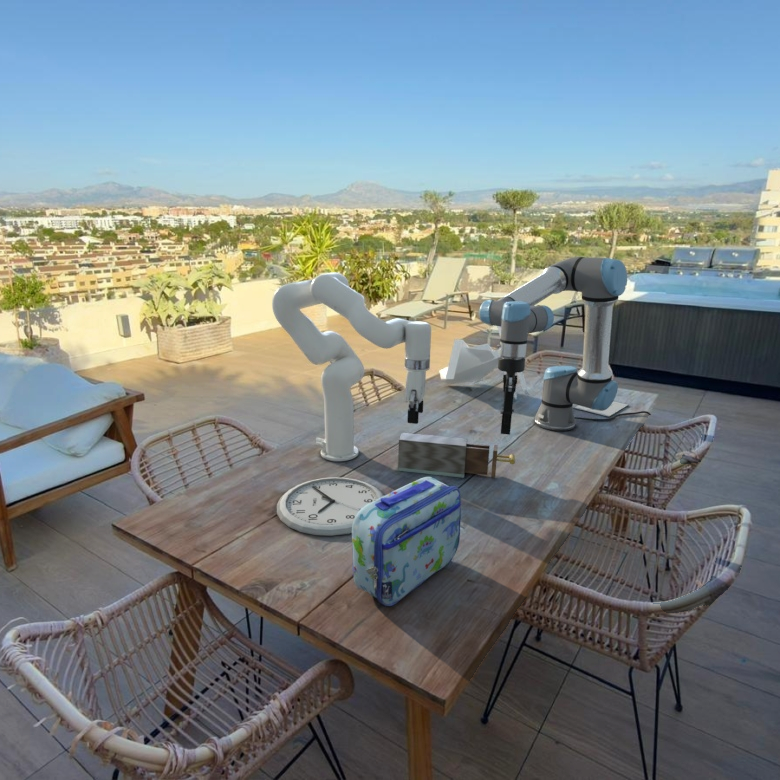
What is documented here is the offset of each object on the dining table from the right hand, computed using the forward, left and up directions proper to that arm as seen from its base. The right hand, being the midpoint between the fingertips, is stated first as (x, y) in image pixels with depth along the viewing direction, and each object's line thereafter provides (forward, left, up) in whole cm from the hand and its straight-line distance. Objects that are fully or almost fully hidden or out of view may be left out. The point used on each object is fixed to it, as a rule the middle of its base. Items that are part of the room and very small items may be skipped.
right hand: (505, 433), depth 156 cm
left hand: (+27, -2, +2) cm, 27 cm away
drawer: (+9, -1, -14) cm, 16 cm away
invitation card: (-49, -75, -15) cm, 90 cm away
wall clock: (+48, +24, -15) cm, 55 cm away
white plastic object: (+3, -87, -15) cm, 88 cm away
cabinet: (+21, -2, -15) cm, 26 cm away
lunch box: (+24, +52, -15) cm, 59 cm away
